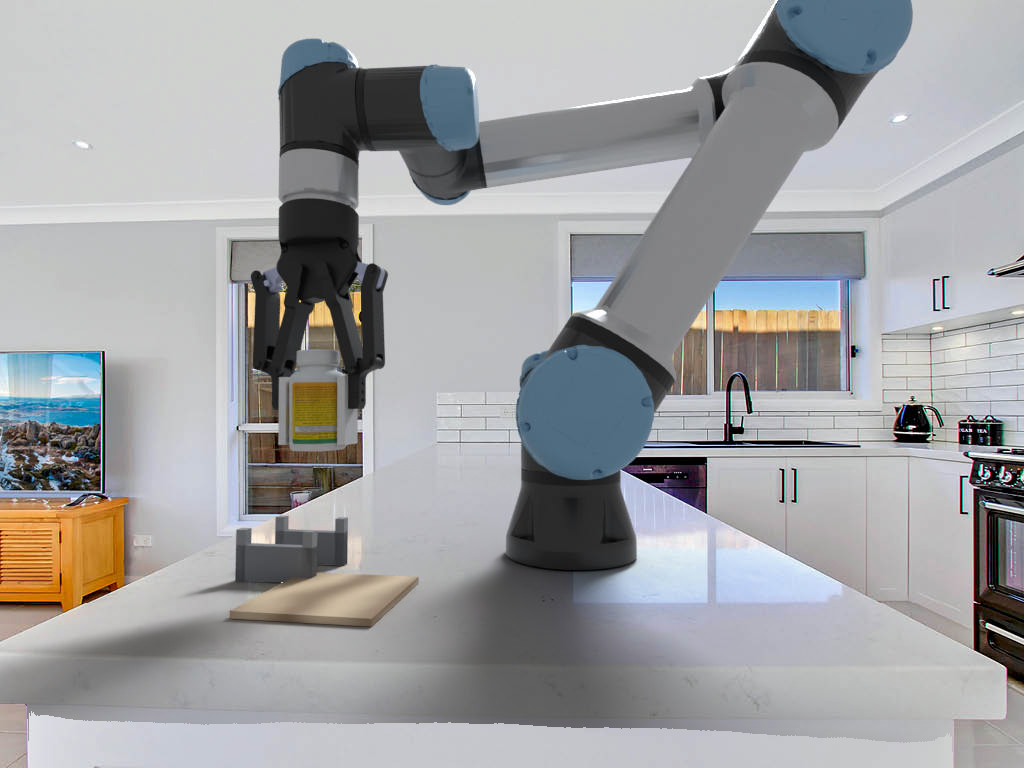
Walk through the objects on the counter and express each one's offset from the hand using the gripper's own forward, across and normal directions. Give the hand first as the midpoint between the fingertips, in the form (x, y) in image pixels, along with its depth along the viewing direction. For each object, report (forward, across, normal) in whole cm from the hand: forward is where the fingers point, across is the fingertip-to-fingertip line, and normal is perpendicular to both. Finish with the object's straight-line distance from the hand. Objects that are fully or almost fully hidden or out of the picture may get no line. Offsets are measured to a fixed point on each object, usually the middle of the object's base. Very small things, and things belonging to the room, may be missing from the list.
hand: (318, 443), depth 58 cm
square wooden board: (+14, -4, +4) cm, 14 cm away
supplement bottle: (+1, 0, 0) cm, 1 cm away
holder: (+14, +5, -4) cm, 15 cm away
